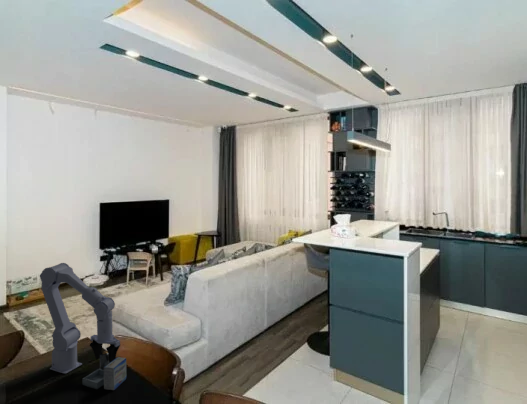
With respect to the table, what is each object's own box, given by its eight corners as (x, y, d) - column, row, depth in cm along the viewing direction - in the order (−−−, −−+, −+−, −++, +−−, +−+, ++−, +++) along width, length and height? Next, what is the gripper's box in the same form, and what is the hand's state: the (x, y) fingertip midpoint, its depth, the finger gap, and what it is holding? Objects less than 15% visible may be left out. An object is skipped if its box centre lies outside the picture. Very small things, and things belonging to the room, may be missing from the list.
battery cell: (97, 371, 135) (97, 353, 135) (105, 366, 139) (105, 348, 138) (104, 373, 133) (104, 355, 133) (112, 368, 137) (112, 350, 137)
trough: (82, 384, 125) (82, 378, 125) (99, 374, 132) (99, 368, 132) (97, 389, 122) (96, 383, 122) (113, 378, 129) (113, 372, 129)
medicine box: (113, 391, 122) (113, 368, 121) (103, 389, 123) (103, 367, 122) (126, 379, 129) (126, 357, 129) (116, 377, 130) (116, 356, 130)
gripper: (125, 327, 136) (125, 358, 137) (100, 321, 142) (100, 352, 142) (111, 334, 130) (112, 367, 130) (85, 328, 135) (86, 360, 136)
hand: (105, 359), depth 136 cm, fingers open, 7 cm apart
